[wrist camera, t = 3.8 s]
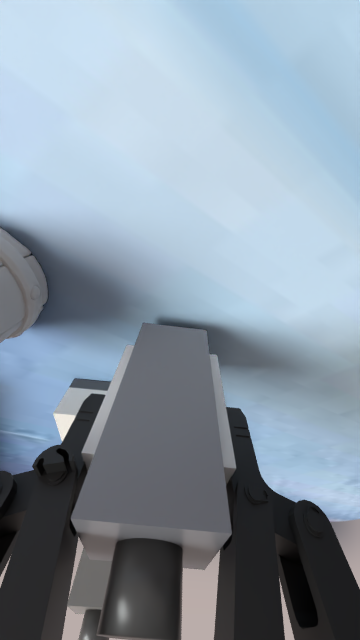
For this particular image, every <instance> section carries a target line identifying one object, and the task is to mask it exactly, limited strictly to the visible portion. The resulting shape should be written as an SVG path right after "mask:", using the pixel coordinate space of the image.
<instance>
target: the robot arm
mask: <svg viewBox="0 0 360 640" xmlns="http://www.w3.org/2000/svg"><path fill="white" fill-rule="evenodd" d="M133 348H134V346H133V345H127V346H126V348H125V350H124V353H123V355H122V357H121V360H120V362H119V365H118V367H117V369H116V372H115V374H114V376H113V379H112V381H111V384H110V386H109V388H108V391H107V393H106V395H104V394H94V393H91V394H90V395H89V396H88V397H87V398H86V399H85V400H84V401H83V403H82V405H81V407H80V409H79V412H78V413H77V415H76V417H75V419H74V421H73V422H72V424H71V426H70V428H69V430H68V432H67V434H66V436H65V438H64V440H63V442H62V444H61V445H56V446H52V447H50V448H48V449H47V450H45V451H43V452H42V453H41V454H40V455H39V456H38V457H37V458H36V460H35V462H34V464H33V466H32V467H33V469H34V470H32V471H28V472H24V473H20V474H16V475H11V474H10V473H9V472H6V471H0V576H1V574H2V572H3V570H4V568H5V566H6V564H7V562H8V560H9V558H10V556H11V558H10V561H9V564H8V567H7V570H6V573H5V576H4V579H3V582H2V585H1V588H0V640H62V634H63V628H64V622H65V616H66V610H67V604H68V597H69V591H70V585H71V579H72V573H73V567H74V561H75V555H76V548H77V542H78V534H77V531H76V529H75V527H74V525H73V523H72V521H71V516H72V513H73V511H74V508H75V505H76V502H77V500H78V497H79V494H80V492H81V489H82V486H83V483H84V481H85V478H86V475H87V473H88V470H89V467H90V465H91V462H92V459H93V456H94V454H95V451H96V448H97V446H98V443H99V440H100V437H101V435H102V432H103V429H104V427H105V424H106V421H107V419H108V416H109V413H110V410H111V408H112V405H113V402H114V400H115V397H116V394H117V391H118V389H119V386H120V383H121V381H122V378H123V375H124V373H125V370H126V367H127V364H128V362H129V359H130V356H131V354H132V351H133ZM210 361H211V369H212V377H213V385H214V393H215V401H216V409H217V417H218V425H219V434H220V442H221V450H222V458H223V466H224V474H225V482H226V490H227V498H228V506H229V514H230V522H231V530H232V534H231V536H230V537H229V538H228V540H227V541H226V542H225V543H224V545H223V546H222V547H221V549H220V562H219V575H218V591H217V605H216V619H215V635H214V640H285V636H284V625H283V615H282V604H281V593H280V582H281V585H282V590H283V594H284V598H285V602H286V606H287V610H288V614H289V618H290V623H291V627H292V630H293V634H294V639H295V640H360V589H359V587H358V584H357V582H356V580H355V578H354V575H353V573H352V571H351V569H350V567H349V564H348V562H347V560H346V557H345V555H344V553H343V550H342V548H341V546H340V544H339V541H338V539H337V537H336V535H335V532H334V530H333V528H332V525H331V523H330V522H329V520H328V518H327V516H326V515H325V514H324V512H323V511H322V510H321V509H320V508H319V507H318V506H316V505H315V504H314V503H312V502H310V501H307V500H301V501H298V502H297V503H296V502H294V501H292V500H289V499H287V498H285V497H283V496H281V495H279V494H278V493H276V492H274V491H273V490H272V489H271V488H269V487H268V485H267V484H266V483H265V482H264V480H263V478H262V477H261V474H260V471H259V468H258V464H257V460H256V456H255V452H254V448H253V444H252V440H251V438H250V437H251V436H250V432H249V430H248V424H247V420H246V417H245V416H244V414H243V413H242V411H241V409H239V408H230V407H226V404H225V398H224V392H223V387H222V381H221V375H220V369H219V363H218V357H217V355H213V354H210ZM11 554H12V555H11ZM279 578H280V582H279Z"/></svg>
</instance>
